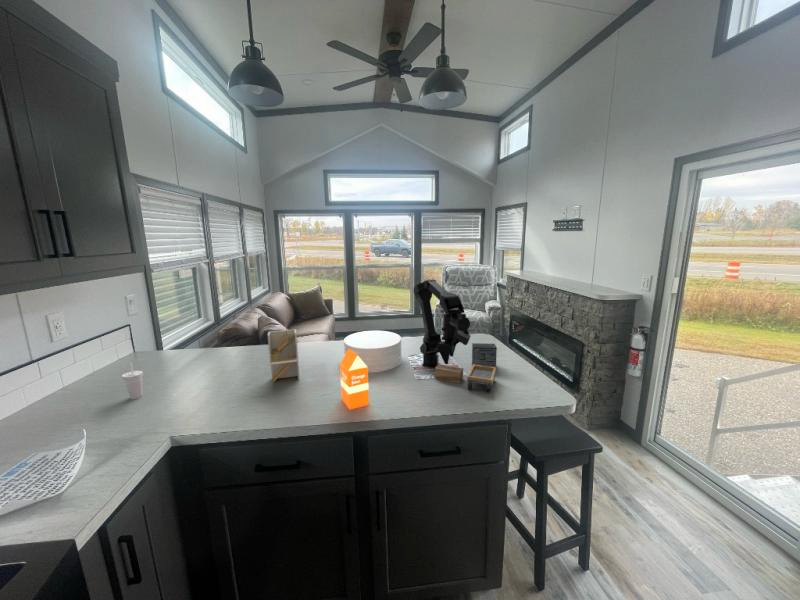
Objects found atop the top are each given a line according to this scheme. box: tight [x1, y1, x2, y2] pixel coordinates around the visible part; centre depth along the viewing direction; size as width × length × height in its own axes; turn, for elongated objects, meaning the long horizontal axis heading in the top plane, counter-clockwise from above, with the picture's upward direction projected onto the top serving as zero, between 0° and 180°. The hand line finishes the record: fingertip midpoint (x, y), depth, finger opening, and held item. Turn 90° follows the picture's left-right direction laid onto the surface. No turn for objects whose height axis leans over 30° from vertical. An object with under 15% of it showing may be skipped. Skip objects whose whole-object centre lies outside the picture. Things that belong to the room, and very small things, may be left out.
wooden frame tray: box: [466, 364, 497, 393], centre depth 135 cm, size 10×14×6 cm
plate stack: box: [343, 330, 402, 373], centre depth 161 cm, size 28×28×12 cm
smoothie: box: [121, 362, 144, 400], centre depth 127 cm, size 6×6×14 cm
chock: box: [434, 363, 464, 384], centre depth 141 cm, size 5×11×5 cm, turn 64°
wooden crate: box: [267, 324, 301, 383], centre depth 139 cm, size 8×12×26 cm
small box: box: [471, 342, 498, 368], centre depth 153 cm, size 11×6×10 cm, turn 84°
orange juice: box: [339, 348, 370, 410], centre depth 121 cm, size 8×9×20 cm
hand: (449, 360), depth 140 cm, fingers open, 9 cm apart
